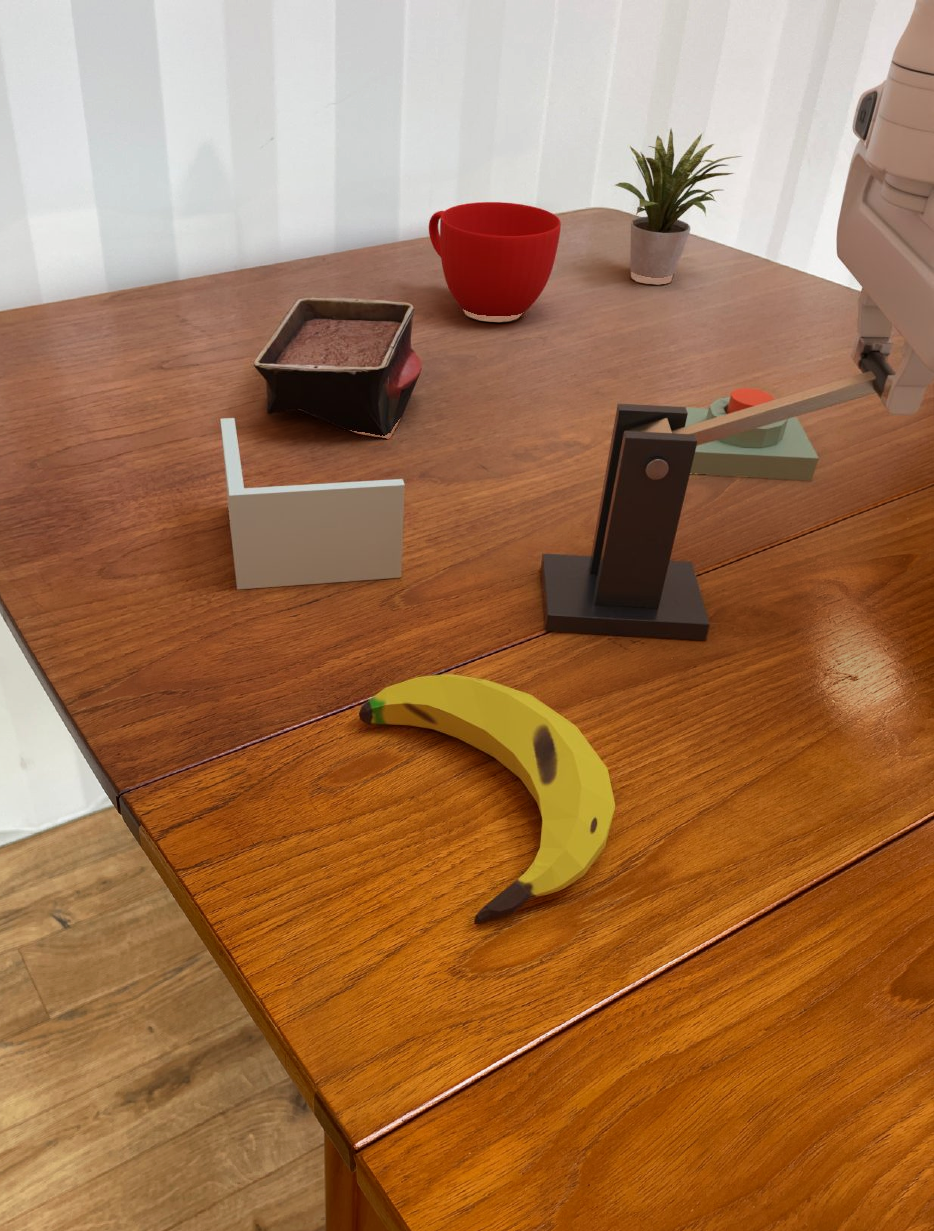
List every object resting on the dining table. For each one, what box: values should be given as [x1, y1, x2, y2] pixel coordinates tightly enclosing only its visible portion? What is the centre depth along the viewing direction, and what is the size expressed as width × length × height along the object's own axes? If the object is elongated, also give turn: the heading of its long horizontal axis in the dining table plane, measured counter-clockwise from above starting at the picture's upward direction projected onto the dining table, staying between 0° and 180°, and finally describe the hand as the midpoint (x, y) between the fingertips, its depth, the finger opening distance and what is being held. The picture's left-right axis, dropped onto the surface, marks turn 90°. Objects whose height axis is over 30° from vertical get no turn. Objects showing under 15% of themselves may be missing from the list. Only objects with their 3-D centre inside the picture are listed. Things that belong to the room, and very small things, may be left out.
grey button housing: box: [685, 396, 820, 482], centre depth 92 cm, size 11×9×4 cm
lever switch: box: [625, 352, 897, 446], centre depth 65 cm, size 16×5×2 cm, turn 86°
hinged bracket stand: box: [539, 403, 711, 641], centre depth 71 cm, size 11×8×14 cm
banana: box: [358, 673, 616, 926], centre depth 59 cm, size 5×17×15 cm
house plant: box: [613, 128, 743, 278], centre depth 123 cm, size 14×14×16 cm
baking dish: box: [253, 296, 423, 436], centre depth 97 cm, size 14×18×10 cm
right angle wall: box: [220, 417, 406, 590], centre depth 78 cm, size 12×12×8 cm
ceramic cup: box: [428, 201, 562, 316], centre depth 117 cm, size 13×17×10 cm
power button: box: [727, 387, 775, 414], centre depth 91 cm, size 4×4×2 cm
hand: (881, 387), depth 64 cm, fingers closed on lever switch, 5 cm apart
